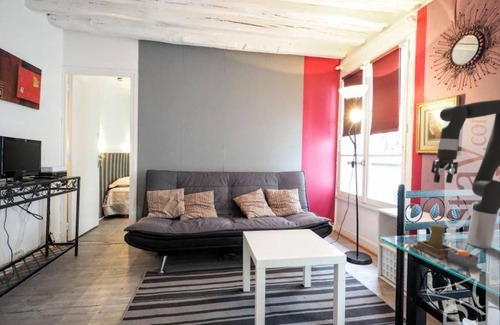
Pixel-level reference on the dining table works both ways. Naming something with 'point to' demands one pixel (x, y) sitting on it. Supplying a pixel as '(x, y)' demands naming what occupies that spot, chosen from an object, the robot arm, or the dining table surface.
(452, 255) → the button housing
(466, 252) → the button
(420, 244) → the crate
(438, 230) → the khaki rounded elongated piece
